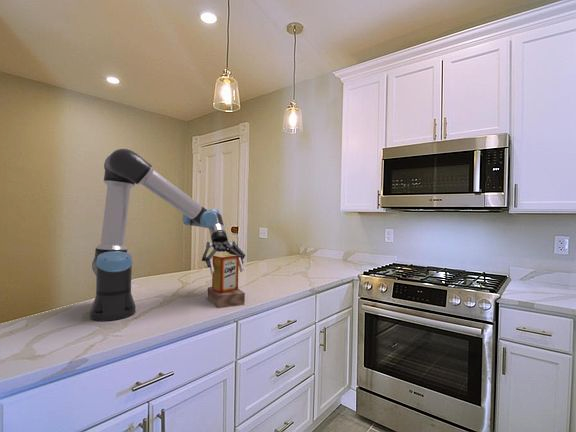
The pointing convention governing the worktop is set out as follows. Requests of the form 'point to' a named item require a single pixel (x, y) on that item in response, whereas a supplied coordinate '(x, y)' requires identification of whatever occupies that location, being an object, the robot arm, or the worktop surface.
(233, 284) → the orange cardboard box
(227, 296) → the block
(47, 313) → the worktop surface
